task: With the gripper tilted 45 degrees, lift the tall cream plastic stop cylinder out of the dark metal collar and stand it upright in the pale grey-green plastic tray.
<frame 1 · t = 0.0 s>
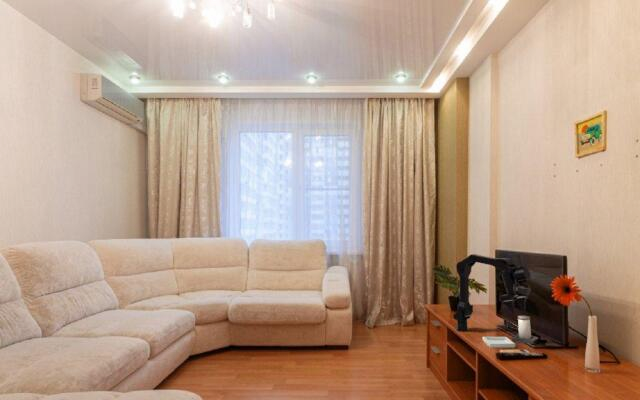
hand: (519, 313, 197), 15 cm above the tv stand, tool pointing down, fingers open, 9 cm apart
door stopper: (511, 326, 229), on the tv stand
collar: (525, 341, 200), on the tv stand
tray: (498, 344, 197), on the tv stand
stop cylinder: (524, 329, 200), in the collar
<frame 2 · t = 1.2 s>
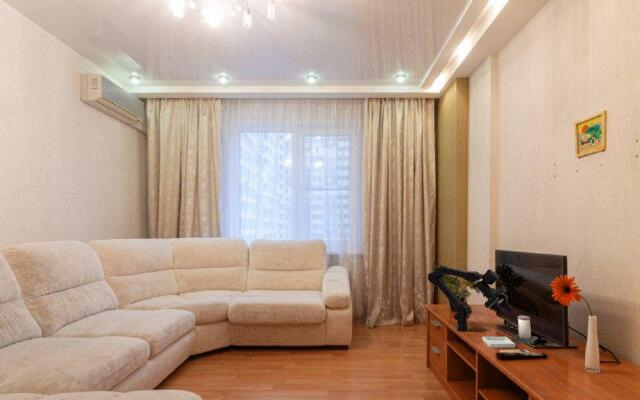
hand: (508, 313, 206), 13 cm above the tv stand, tool tilted 45°, fingers open, 9 cm apart
nothing on the tv stand moved.
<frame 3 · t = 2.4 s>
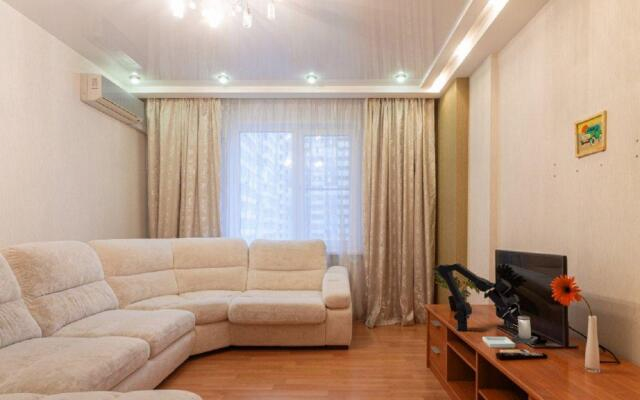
hand: (521, 323, 202), 9 cm above the tv stand, tool tilted 45°, fingers open, 9 cm apart
nothing on the tv stand moved.
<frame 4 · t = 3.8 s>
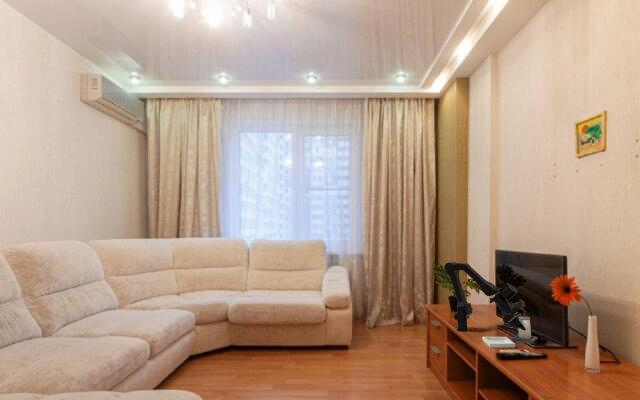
hand: (527, 328, 199), 7 cm above the tv stand, tool tilted 45°, fingers closed on stop cylinder, 5 cm apart
stop cylinder: (524, 329, 200), in the collar, touching gripper
everything else where it was.
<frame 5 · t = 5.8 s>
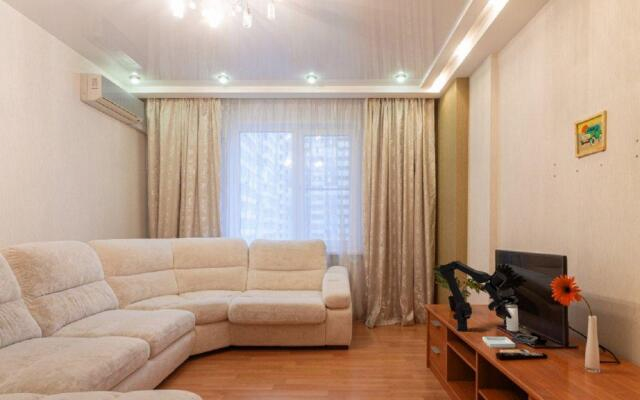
hand: (514, 317, 197), 13 cm above the tv stand, tool tilted 45°, fingers closed on stop cylinder, 5 cm apart
stop cylinder: (511, 317, 198), point 13 cm above the tv stand, touching gripper
everything else where it was.
when the fingers open (8 cm above the tv stand, at t = 8.0 s): stop cylinder drops 1 cm, resting on tray.
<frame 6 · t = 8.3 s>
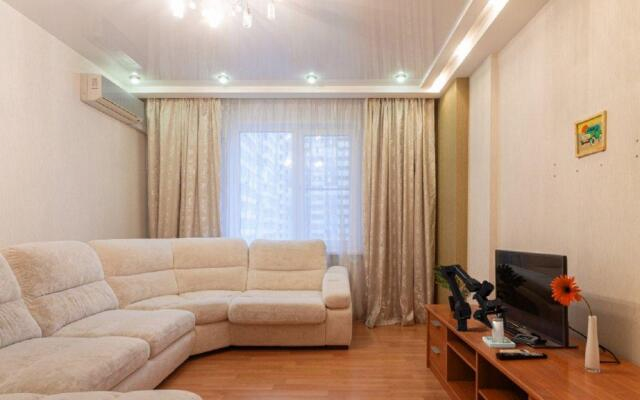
hand: (499, 327, 196), 9 cm above the tv stand, tool tilted 45°, fingers open, 8 cm apart
stop cylinder: (497, 330, 197), in the tray
everything else where it was.
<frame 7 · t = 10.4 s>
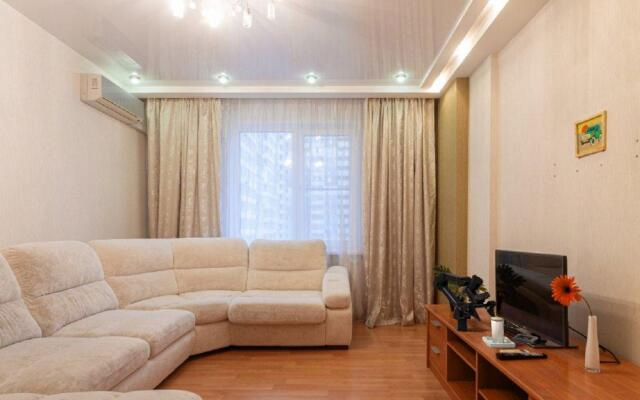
hand: (487, 320, 204), 10 cm above the tv stand, tool tilted 45°, fingers open, 9 cm apart
nothing on the tv stand moved.
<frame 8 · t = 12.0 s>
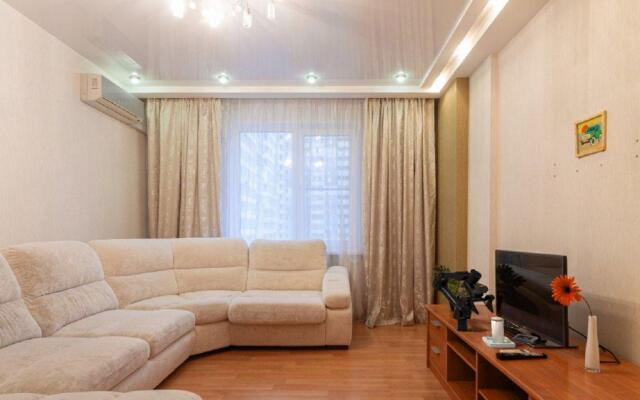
hand: (485, 313, 205), 14 cm above the tv stand, tool tilted 45°, fingers open, 9 cm apart
nothing on the tv stand moved.
at the end: stop cylinder inside the target area on the tray (0.1 cm from its centre), point 6.8 cm above the tray's base; stop cylinder tilted 0°; the gripper is holding nothing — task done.
